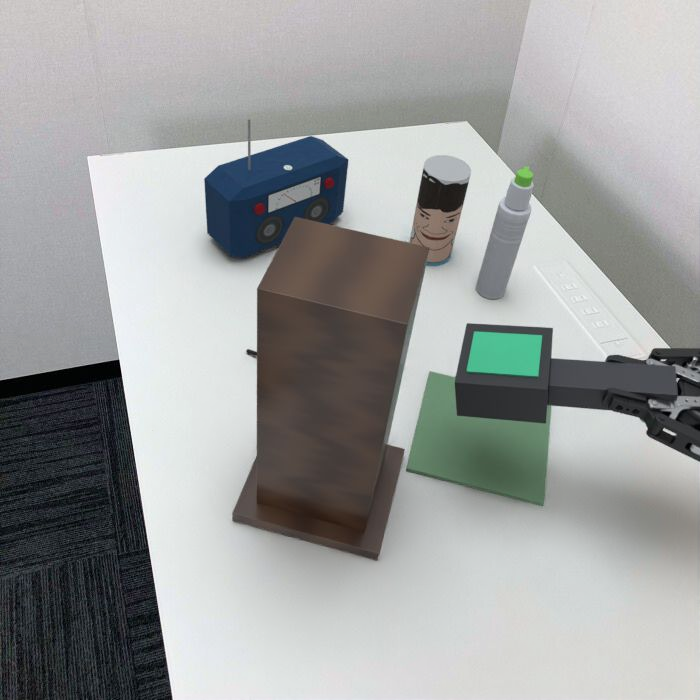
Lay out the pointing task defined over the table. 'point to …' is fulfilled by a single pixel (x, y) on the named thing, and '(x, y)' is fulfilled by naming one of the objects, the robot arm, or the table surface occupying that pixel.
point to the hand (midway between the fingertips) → (605, 380)
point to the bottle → (506, 236)
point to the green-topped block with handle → (541, 376)
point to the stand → (330, 385)
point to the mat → (478, 447)
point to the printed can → (440, 206)
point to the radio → (273, 194)
